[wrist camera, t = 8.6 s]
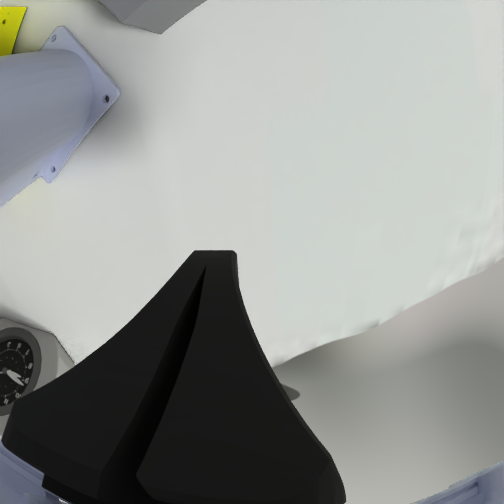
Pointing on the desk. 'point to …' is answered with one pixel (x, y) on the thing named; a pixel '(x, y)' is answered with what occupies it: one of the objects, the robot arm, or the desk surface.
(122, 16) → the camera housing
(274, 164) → the desk surface
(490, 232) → the desk surface
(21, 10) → the yellow toy chassis
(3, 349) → the alarm clock
